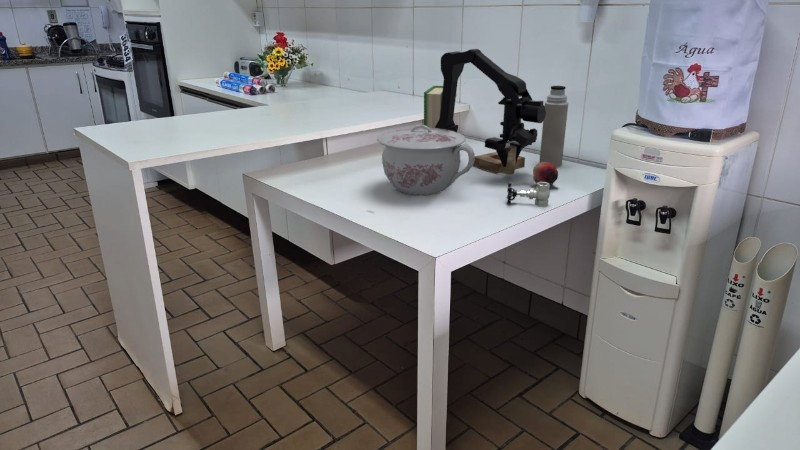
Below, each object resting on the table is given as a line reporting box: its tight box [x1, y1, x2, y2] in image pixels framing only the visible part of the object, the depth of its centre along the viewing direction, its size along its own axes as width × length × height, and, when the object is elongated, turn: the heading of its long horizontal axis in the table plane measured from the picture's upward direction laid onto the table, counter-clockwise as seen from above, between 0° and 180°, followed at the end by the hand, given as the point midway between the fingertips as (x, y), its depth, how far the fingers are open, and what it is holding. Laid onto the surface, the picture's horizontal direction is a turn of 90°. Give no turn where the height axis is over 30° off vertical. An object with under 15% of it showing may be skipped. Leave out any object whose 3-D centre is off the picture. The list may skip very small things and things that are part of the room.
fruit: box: [532, 162, 559, 187], centre depth 175 cm, size 8×8×8 cm
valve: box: [506, 181, 551, 208], centre depth 161 cm, size 7×7×12 cm
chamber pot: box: [376, 124, 476, 196], centre depth 172 cm, size 28×28×21 cm
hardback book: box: [423, 85, 443, 128], centre depth 217 cm, size 18×7×24 cm, turn 165°
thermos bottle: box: [538, 85, 569, 168], centre depth 195 cm, size 8×8×28 cm
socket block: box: [472, 151, 526, 175], centre depth 198 cm, size 14×12×4 cm
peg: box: [502, 144, 517, 176], centre depth 184 cm, size 4×4×9 cm
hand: (509, 165), depth 184 cm, fingers closed on peg, 4 cm apart
